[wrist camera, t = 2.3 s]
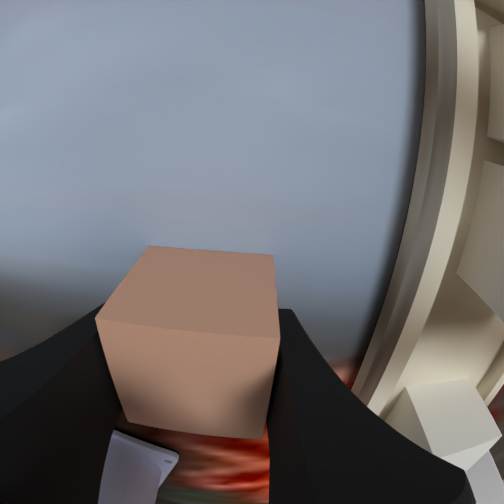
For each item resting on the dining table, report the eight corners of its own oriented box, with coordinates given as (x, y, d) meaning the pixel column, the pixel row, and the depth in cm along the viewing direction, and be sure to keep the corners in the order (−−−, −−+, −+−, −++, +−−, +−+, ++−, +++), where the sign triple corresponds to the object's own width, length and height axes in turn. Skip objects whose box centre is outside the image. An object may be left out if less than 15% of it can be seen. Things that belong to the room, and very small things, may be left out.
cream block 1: (435, 424, 13) (457, 479, 9) (375, 435, 13) (391, 498, 9) (469, 376, 11) (502, 435, 8) (405, 386, 11) (434, 459, 8)
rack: (416, 458, 16) (425, 485, 14) (308, 473, 16) (311, 505, 14) (561, 65, 6) (599, 68, 3) (422, -23, 5) (461, -50, 3)
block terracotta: (261, 351, 11) (261, 439, 8) (158, 340, 11) (127, 421, 8) (272, 255, 10) (280, 338, 6) (149, 246, 10) (94, 317, 6)
